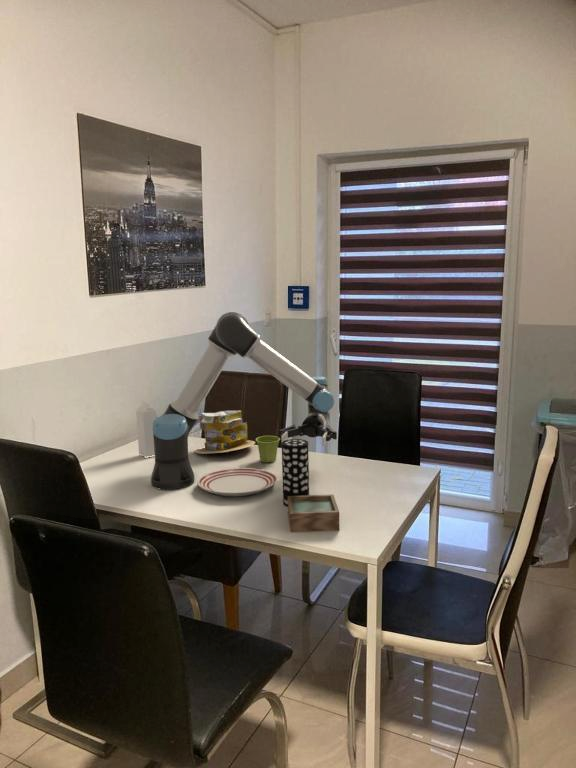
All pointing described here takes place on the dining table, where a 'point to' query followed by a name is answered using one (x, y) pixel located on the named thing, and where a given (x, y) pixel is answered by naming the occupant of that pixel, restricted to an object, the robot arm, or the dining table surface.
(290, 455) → the white-spotted black cylinder
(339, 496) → the dining table surface
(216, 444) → the plate of food packages
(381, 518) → the dining table surface
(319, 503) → the square wooden tray
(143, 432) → the milk
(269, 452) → the plant pot
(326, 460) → the dining table surface
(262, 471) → the dinner plate
